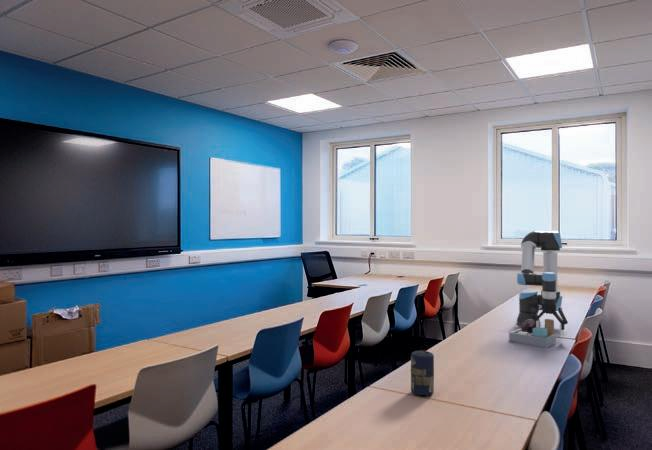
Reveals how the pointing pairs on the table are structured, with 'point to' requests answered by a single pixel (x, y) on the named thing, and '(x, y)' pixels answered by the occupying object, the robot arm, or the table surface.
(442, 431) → the table surface
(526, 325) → the rock
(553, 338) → the lane rack
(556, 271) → the robot arm
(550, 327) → the block
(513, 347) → the table surface
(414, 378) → the canister
